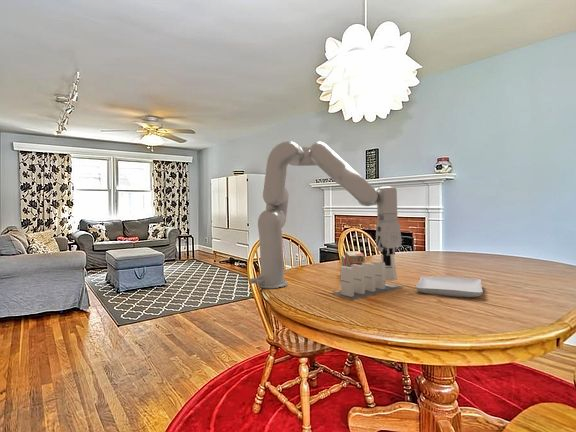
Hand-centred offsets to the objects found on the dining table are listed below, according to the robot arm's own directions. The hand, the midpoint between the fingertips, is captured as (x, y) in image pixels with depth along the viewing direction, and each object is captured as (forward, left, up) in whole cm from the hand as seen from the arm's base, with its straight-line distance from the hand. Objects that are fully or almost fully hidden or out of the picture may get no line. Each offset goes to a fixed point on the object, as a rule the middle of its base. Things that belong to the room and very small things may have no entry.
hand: (388, 264), depth 135 cm
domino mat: (-11, 0, -9) cm, 14 cm away
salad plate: (+12, -18, -9) cm, 23 cm away
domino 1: (-22, 0, -8) cm, 24 cm away
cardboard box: (-1, +19, -9) cm, 21 cm away
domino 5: (0, -1, -6) cm, 6 cm away
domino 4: (-6, 0, -8) cm, 10 cm away
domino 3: (-11, 0, -8) cm, 14 cm away
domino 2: (-17, 0, -8) cm, 19 cm away
